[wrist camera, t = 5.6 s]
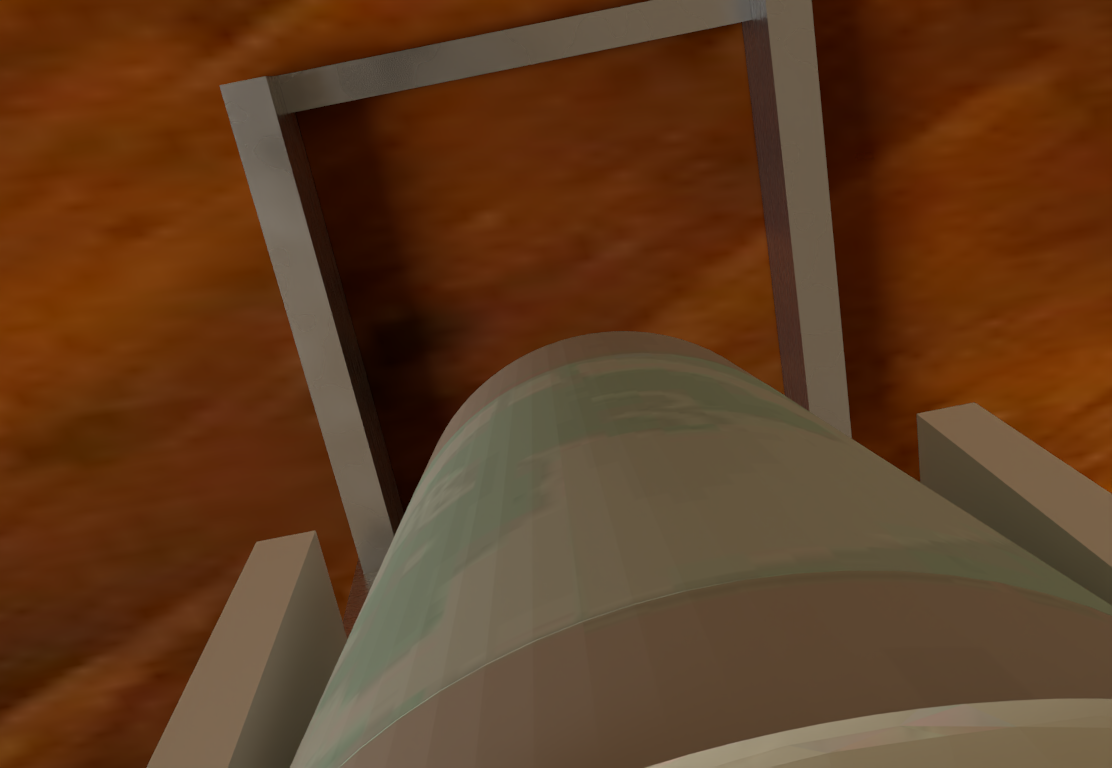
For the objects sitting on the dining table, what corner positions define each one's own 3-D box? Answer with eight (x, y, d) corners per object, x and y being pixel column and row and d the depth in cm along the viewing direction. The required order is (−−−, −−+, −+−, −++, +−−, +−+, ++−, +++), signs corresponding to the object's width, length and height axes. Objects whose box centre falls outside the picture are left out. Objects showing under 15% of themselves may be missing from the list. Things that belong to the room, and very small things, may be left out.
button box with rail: (232, 86, 26) (132, 93, 19) (789, -27, 26) (913, -64, 19) (433, 775, 34) (419, 975, 27) (859, 685, 34) (966, 858, 27)
